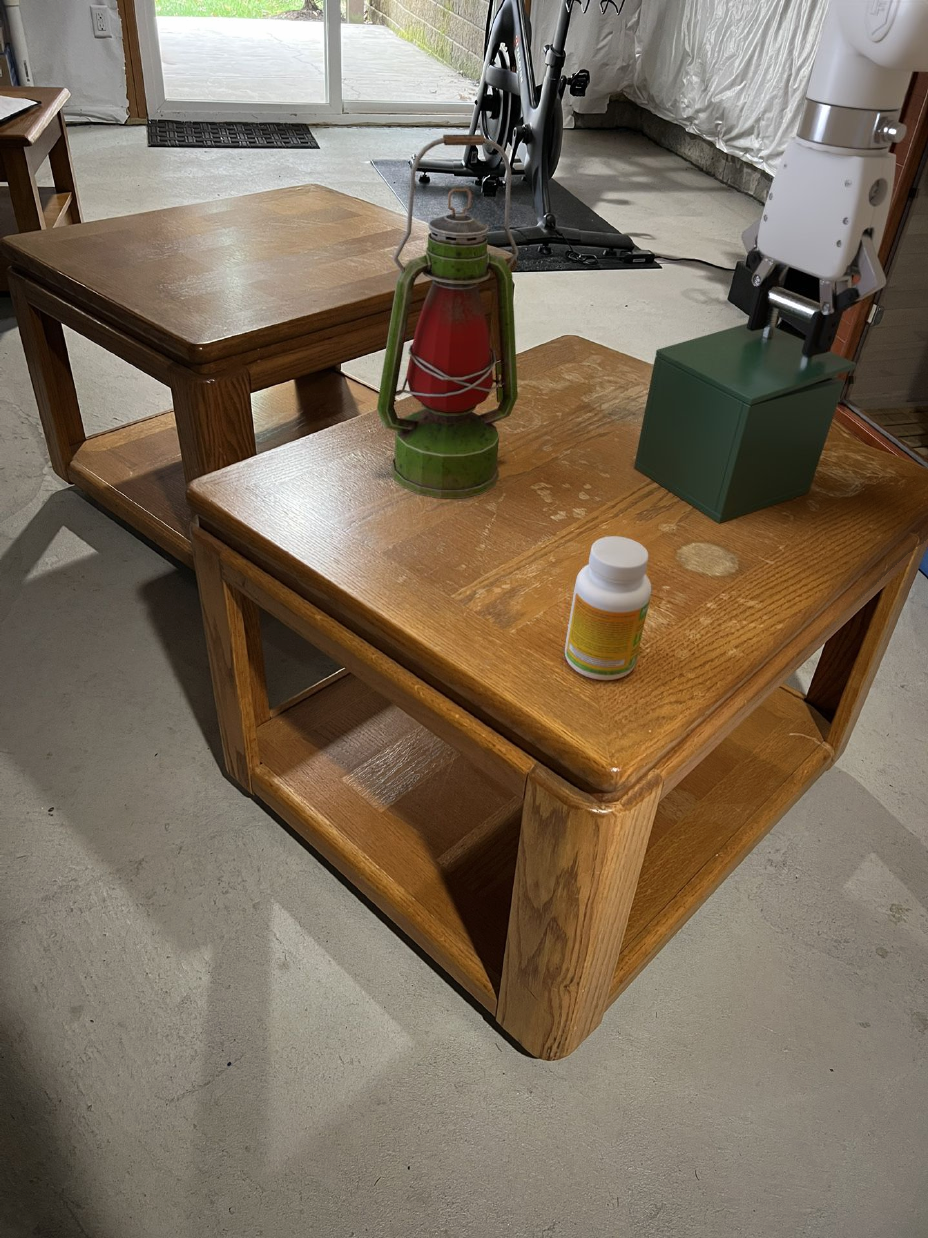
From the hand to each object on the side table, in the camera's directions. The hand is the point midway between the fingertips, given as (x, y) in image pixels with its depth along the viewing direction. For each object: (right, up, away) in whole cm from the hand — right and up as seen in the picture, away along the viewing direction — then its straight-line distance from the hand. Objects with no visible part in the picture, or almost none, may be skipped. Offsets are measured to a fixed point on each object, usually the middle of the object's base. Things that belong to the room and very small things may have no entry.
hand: (787, 338), depth 88 cm
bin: (-4, -12, +6) cm, 15 cm away
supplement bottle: (-20, -29, -17) cm, 40 cm away
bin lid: (-3, -2, -1) cm, 4 cm away
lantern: (-32, -12, +5) cm, 35 cm away
